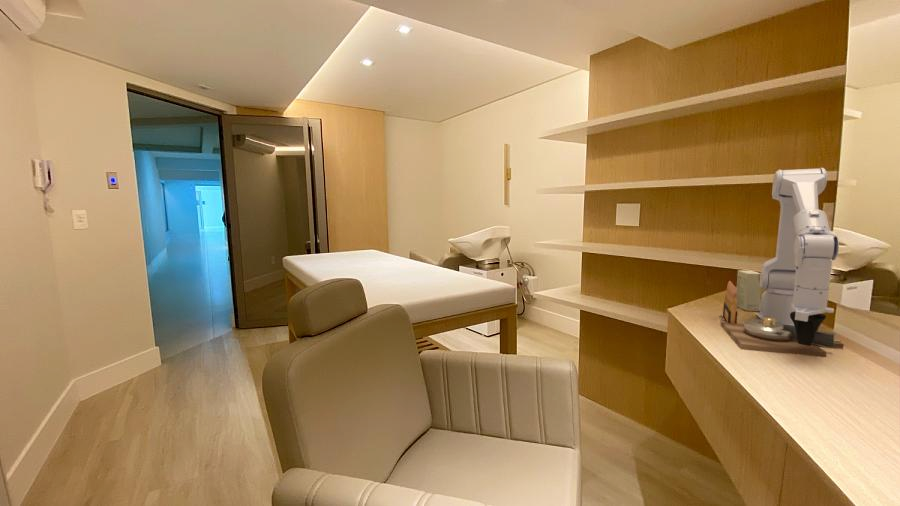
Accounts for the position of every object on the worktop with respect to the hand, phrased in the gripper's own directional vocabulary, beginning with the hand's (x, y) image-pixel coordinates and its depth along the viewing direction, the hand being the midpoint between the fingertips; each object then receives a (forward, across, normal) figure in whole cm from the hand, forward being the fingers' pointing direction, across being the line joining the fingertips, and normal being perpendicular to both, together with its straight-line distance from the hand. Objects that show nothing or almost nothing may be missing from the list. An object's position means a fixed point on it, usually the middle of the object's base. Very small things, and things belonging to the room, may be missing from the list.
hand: (804, 344), depth 88 cm
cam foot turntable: (+1, +6, +4) cm, 8 cm away
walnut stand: (+3, +8, +5) cm, 10 cm away
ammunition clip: (+3, +15, +19) cm, 24 cm away
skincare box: (+3, +34, +20) cm, 39 cm away
